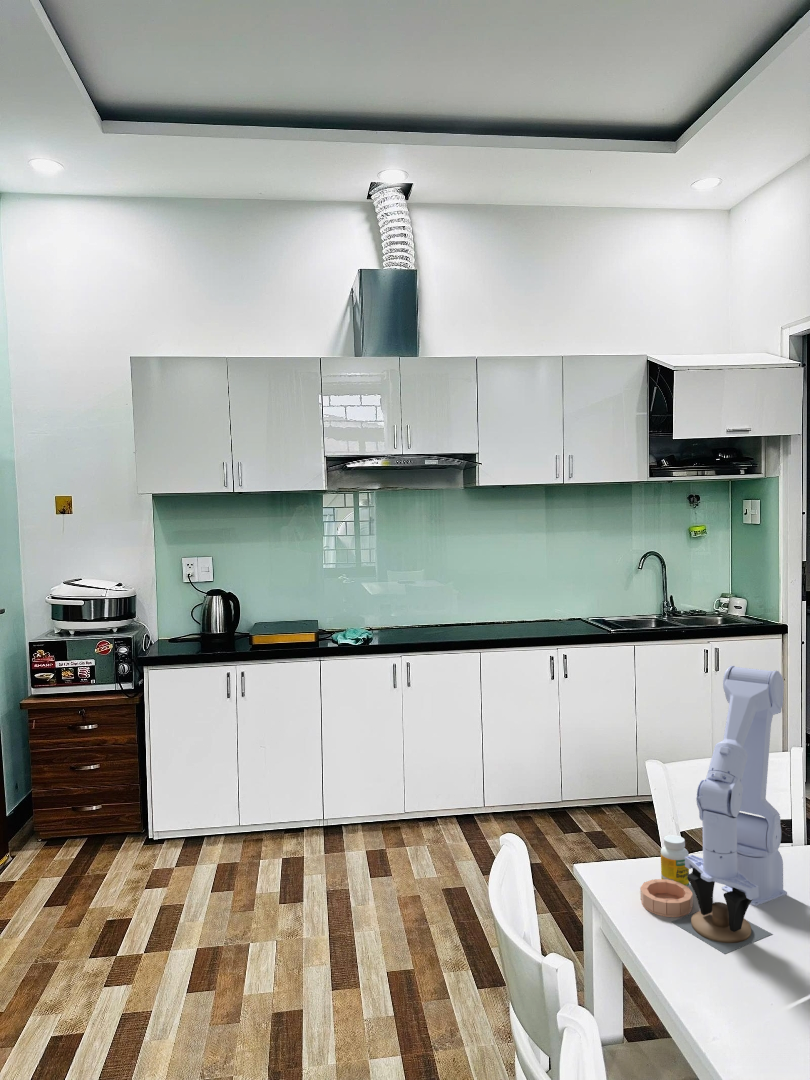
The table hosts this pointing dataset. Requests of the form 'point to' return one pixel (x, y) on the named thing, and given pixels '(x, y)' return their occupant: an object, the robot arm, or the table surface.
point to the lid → (719, 925)
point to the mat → (725, 948)
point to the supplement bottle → (674, 860)
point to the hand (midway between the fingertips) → (720, 921)
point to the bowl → (666, 898)
